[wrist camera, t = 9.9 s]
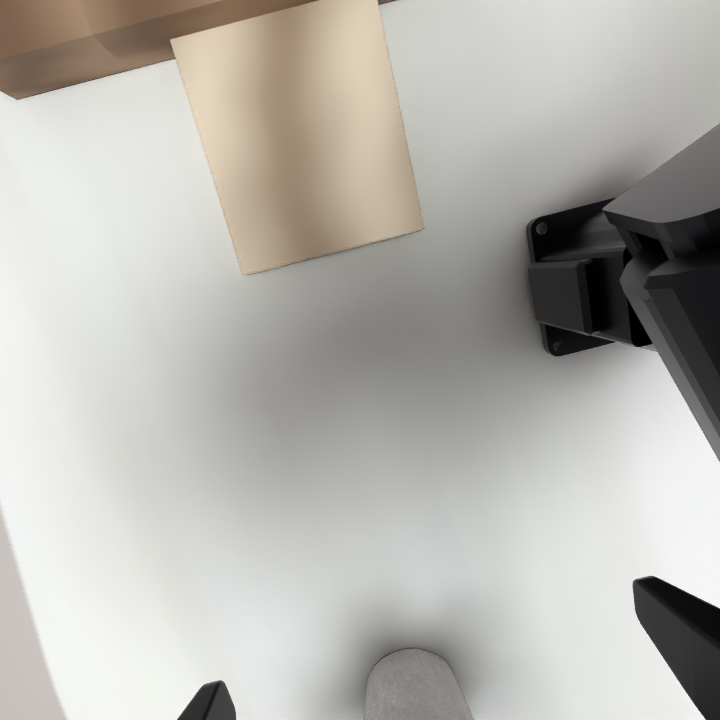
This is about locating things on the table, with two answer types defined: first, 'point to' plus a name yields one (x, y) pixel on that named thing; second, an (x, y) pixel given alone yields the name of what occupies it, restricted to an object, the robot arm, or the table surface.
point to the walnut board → (251, 107)
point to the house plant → (414, 689)
